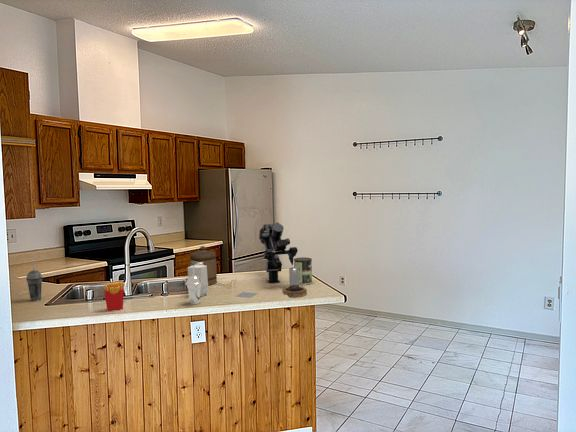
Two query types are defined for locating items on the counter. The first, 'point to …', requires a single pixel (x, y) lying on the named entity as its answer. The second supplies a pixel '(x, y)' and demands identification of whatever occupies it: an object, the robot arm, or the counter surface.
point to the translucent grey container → (206, 263)
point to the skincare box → (202, 273)
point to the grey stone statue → (194, 287)
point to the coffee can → (304, 270)
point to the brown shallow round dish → (299, 293)
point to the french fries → (114, 295)
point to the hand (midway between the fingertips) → (284, 265)
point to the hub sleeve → (294, 279)
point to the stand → (246, 294)
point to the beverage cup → (34, 284)
